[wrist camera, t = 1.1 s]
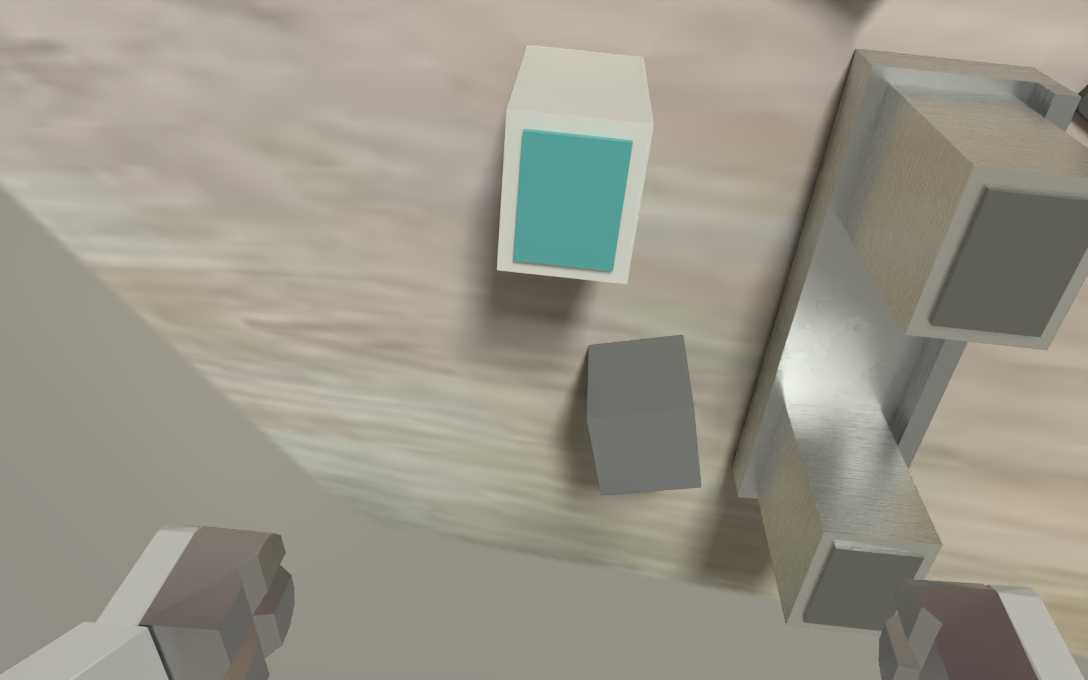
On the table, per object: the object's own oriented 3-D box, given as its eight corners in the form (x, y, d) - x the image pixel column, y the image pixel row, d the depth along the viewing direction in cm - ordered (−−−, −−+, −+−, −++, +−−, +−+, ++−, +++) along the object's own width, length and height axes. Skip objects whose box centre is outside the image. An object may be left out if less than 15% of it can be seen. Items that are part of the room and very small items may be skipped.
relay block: (601, 416, 36) (601, 495, 32) (589, 344, 34) (586, 418, 30) (690, 408, 36) (701, 487, 32) (683, 334, 34) (694, 408, 29)
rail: (732, 466, 37) (764, 636, 30) (856, 49, 27) (956, 146, 19) (859, 480, 37) (925, 653, 30) (1034, 67, 27) (1206, 172, 19)
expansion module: (517, 180, 30) (496, 273, 24) (527, 44, 27) (505, 110, 21) (622, 192, 30) (627, 287, 24) (643, 57, 27) (654, 126, 21)
